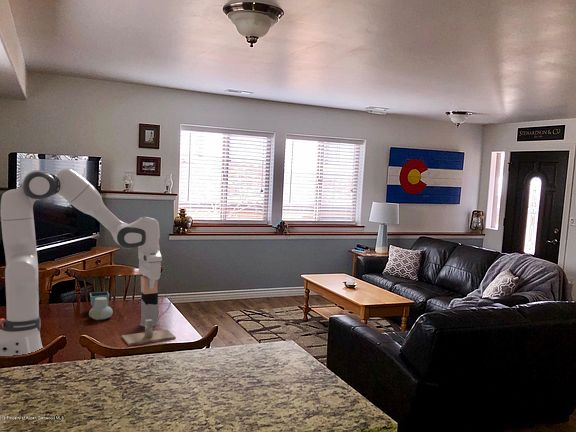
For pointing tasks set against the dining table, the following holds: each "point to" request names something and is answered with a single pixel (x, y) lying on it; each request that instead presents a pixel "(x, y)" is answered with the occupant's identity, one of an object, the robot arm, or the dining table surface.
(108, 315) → the air freshener
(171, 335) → the post stand
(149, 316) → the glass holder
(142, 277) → the peach block
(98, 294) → the flower pot
